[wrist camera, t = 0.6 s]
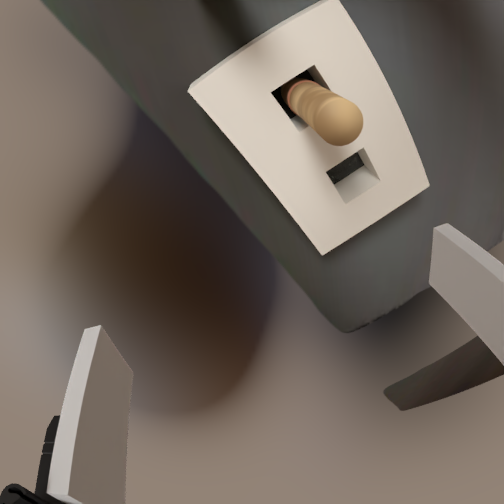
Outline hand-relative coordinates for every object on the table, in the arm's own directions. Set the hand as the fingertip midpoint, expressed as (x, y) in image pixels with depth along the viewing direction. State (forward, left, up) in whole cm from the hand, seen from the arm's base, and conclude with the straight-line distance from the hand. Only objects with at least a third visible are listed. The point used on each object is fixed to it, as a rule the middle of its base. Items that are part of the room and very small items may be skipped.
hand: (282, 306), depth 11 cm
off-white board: (-7, +6, -26) cm, 27 cm away
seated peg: (-7, +1, -26) cm, 27 cm away
